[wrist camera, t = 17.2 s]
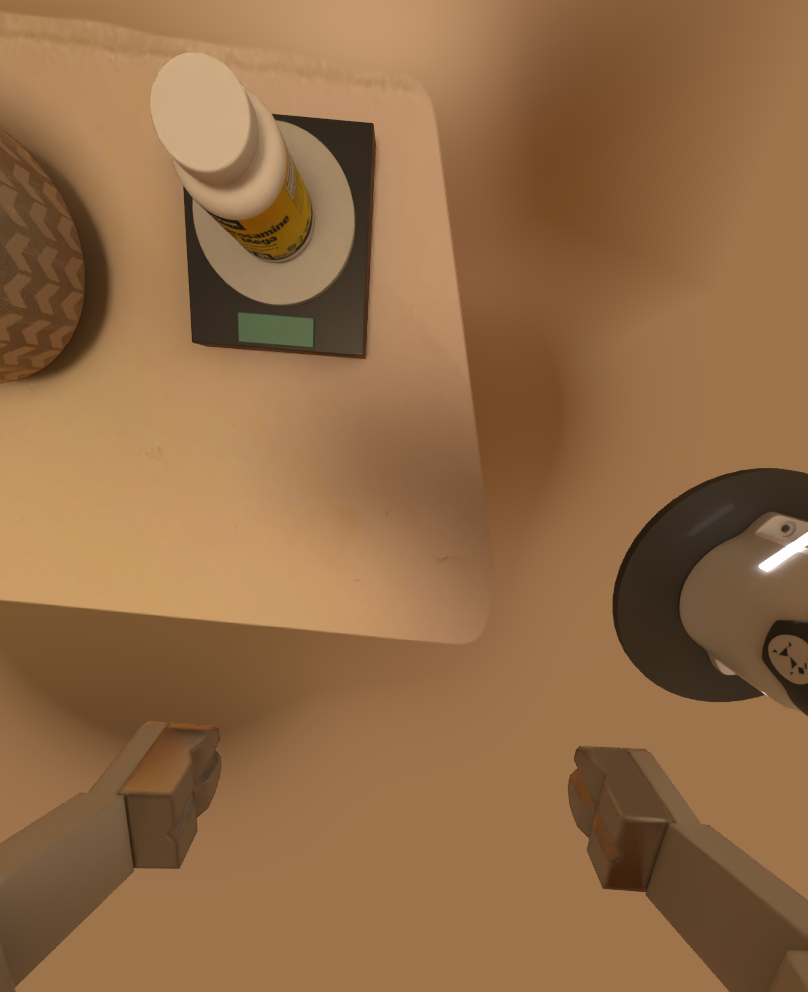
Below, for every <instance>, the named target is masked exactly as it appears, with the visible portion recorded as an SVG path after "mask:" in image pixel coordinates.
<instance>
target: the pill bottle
mask: <svg viewBox="0 0 808 992" xmlns="http://www.w3.org/2000/svg"><path fill="white" fill-rule="evenodd" d="M150 109H151V117H152V121H153V125H154V128H155V131H156V133H157V135H158V137H159V140H160V141H161V143H162V145H163V146H164V148H165V149H166V150H167V152H168V153H169V154H170V155H171V156H172V160H173V163H174V167H175V169H176V172H177V174H178V176H179V178H180V180H181V182H182V184H183V185H184V187H185V188H186V190H187V191H188V193H189V194H190V195H191V196H192V197H193V199H194V200H195V201H196V202H197V203H198V204H199V205H200V206H201V207H202V208H203V209H204V210H205V211H206V212H207V213H208V214H209V215H210V216H211V217H212V218H213V219H214V220H215V221H217V222H218V223H219V224H220V225H221V226H222V227H223V228H224V229H225V230H226V231H227V232H228V233H229V234H230V235H231V236H232V237H233V238H234V239H235V240H236V241H237V242H238V243H239V244H240V245H241V246H242V247H243V248H245V249H246V250H247V251H248V252H250V253H251V254H252V255H254V256H256V257H258V258H260V259H262V260H265V261H270V262H281V261H286V260H289V259H291V258H293V257H295V256H297V255H298V254H299V253H300V252H301V251H302V250H303V249H304V247H305V246H306V245H307V243H308V241H309V239H310V237H311V233H312V229H313V221H314V214H313V207H312V203H311V199H310V197H309V194H308V191H307V189H306V187H305V184H304V182H303V180H302V178H301V176H300V174H299V171H298V169H297V167H296V165H295V163H294V160H293V158H292V156H291V154H290V151H289V149H288V147H287V145H286V142H285V140H284V138H283V136H282V133H281V131H280V129H279V127H278V125H277V123H276V121H275V119H274V117H273V116H272V114H271V113H270V111H269V110H268V108H267V107H266V106H265V105H264V104H263V102H262V101H261V100H260V99H259V98H258V97H256V96H255V95H254V94H253V93H251V92H250V91H248V90H247V89H245V88H243V86H242V84H241V83H240V81H239V80H238V78H237V77H236V75H235V74H234V73H233V72H232V71H231V70H230V69H229V68H228V67H227V66H226V65H225V64H224V63H222V62H221V61H220V60H218V59H216V58H214V57H212V56H210V55H208V54H203V53H198V52H189V53H183V54H180V55H178V56H175V57H174V58H172V59H171V60H169V61H168V62H167V63H166V64H165V65H164V66H163V67H162V68H161V69H160V71H159V72H158V74H157V76H156V78H155V80H154V83H153V86H152V91H151V98H150Z"/></svg>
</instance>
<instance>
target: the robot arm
mask: <svg viewBox="0 0 808 992" xmlns="http://www.w3.org/2000/svg"><path fill="white" fill-rule="evenodd" d="M782 526H783V527H782ZM781 528H782V529H781ZM679 611H680V618H681V621H682V624H683V626H684V628H685V630H686V632H687V633H688V635H689V636H690V637H691V638H692V639H693V640H694V641H695V642H696V643H698V644H699V645H700V646H701V647H703V648H704V649H705V650H706V651H707V653H708V656H709V658H710V661H711V663H712V665H713V666H714V667H715V668H716V669H717V670H719V671H720V672H721V673H723V674H725V675H735V674H737V675H738V676H740V677H741V678H743V679H744V680H745V681H747V682H748V683H750V684H751V685H752V686H754V687H755V688H757V689H758V690H760V691H761V692H762V693H764V694H765V695H767V696H768V697H770V698H771V699H772V700H774V701H775V702H777V703H778V704H780V705H781V706H783V707H784V708H786V709H788V710H791V711H796V710H797V711H802V712H803V713H805V714H806V715H807V716H808V521H805V520H801V519H797V518H794V517H790V516H787V515H783V514H780V513H776V512H768V513H765V514H763V515H762V516H760V517H759V518H758V519H757V520H755V521H754V522H753V523H752V524H751V525H750V526H749V527H748V528H747V529H746V530H745V531H744V532H743V533H741V534H739V535H738V536H736V537H734V538H732V539H729V540H727V541H725V542H723V543H722V544H720V545H718V546H717V547H715V548H714V549H712V550H711V551H710V552H708V553H707V554H706V555H705V556H704V557H703V558H702V559H701V560H700V561H699V562H698V563H697V564H696V565H695V567H694V568H693V569H692V571H691V572H690V574H689V575H688V577H687V579H686V581H685V583H684V586H683V588H682V592H681V596H680V603H679ZM219 741H220V736H219V728H218V727H215V726H205V725H193V724H181V723H163V722H152V721H148V722H147V723H145V724H144V725H142V726H141V727H140V728H139V729H138V731H137V732H136V733H135V734H134V736H133V737H132V738H131V739H130V741H129V742H128V743H127V745H126V746H125V747H124V748H123V749H122V751H121V752H120V753H119V754H118V756H117V757H116V758H115V760H114V761H113V762H112V763H111V764H110V766H109V767H108V768H107V770H106V771H105V772H104V773H103V774H102V776H101V777H100V778H99V779H98V781H97V782H96V783H95V784H94V786H93V787H92V788H91V789H90V791H89V792H88V793H79V794H77V795H76V796H74V797H73V798H71V799H69V800H68V801H66V802H65V803H63V804H62V805H60V806H58V807H57V808H55V809H54V810H52V811H51V812H49V813H47V814H46V815H44V816H43V817H41V818H39V819H38V820H36V821H35V822H33V823H32V824H30V825H28V826H27V827H26V828H24V829H22V830H21V831H19V832H17V833H16V834H14V835H13V836H11V837H9V838H8V839H6V840H5V841H3V842H2V843H0V992H16V991H15V987H16V986H17V985H18V984H19V983H20V982H21V981H22V980H23V979H24V978H25V977H26V976H27V975H28V974H29V973H30V972H31V971H32V970H33V969H34V968H35V967H36V966H37V965H38V964H39V963H40V962H41V961H43V960H44V959H45V958H46V956H48V954H50V953H51V952H52V951H53V950H54V949H55V948H56V947H57V946H58V945H59V944H60V943H61V942H62V941H63V940H64V939H65V938H66V937H67V936H68V935H69V934H70V933H71V932H72V931H73V930H74V929H75V928H76V927H77V926H78V925H79V924H80V923H81V922H82V921H83V920H84V919H86V918H87V917H88V916H89V915H90V914H91V913H92V912H93V911H94V910H95V909H96V908H97V907H98V906H99V905H100V904H101V903H102V902H103V901H104V900H105V899H106V898H107V897H108V896H109V895H110V894H111V893H112V892H113V891H114V890H115V889H116V888H117V887H118V886H119V885H120V884H121V883H122V882H123V881H124V880H126V879H127V877H129V876H130V874H132V873H133V871H134V868H168V869H169V868H170V869H171V868H173V869H179V868H180V866H181V864H182V862H183V860H184V858H185V856H186V854H187V852H188V850H189V847H190V845H191V843H192V841H193V839H194V837H195V835H196V833H197V817H198V816H199V815H200V814H202V813H203V812H204V811H205V810H206V809H207V808H208V807H209V805H210V803H211V801H212V799H213V796H214V794H215V791H216V788H217V785H218V781H219V778H220V771H221V756H220V755H219V754H218V752H217V751H216V750H215V749H216V747H217V745H218V743H219ZM574 761H575V763H576V766H577V767H578V768H577V769H576V770H575V771H574V772H573V773H572V774H571V775H570V778H569V784H568V795H569V803H570V807H571V811H572V814H573V817H574V820H575V822H576V825H577V827H578V828H579V829H580V830H581V831H582V832H583V833H584V834H585V835H586V836H587V837H588V838H589V843H588V847H587V852H588V854H589V856H590V859H591V861H592V864H593V866H594V868H595V871H596V873H597V875H598V878H599V880H600V883H601V885H602V888H603V889H613V890H627V891H638V892H646V896H647V897H648V898H649V899H650V901H651V902H652V903H653V904H654V905H655V906H656V908H657V909H658V910H659V911H660V912H661V913H662V914H663V915H664V917H665V918H666V919H667V920H668V921H669V922H670V924H671V925H672V926H673V927H674V928H675V929H676V930H677V932H678V933H679V934H680V935H681V936H682V937H683V939H684V940H685V941H686V942H687V943H688V944H689V945H690V947H691V948H692V949H693V950H694V951H695V952H696V953H697V955H698V956H699V957H700V958H701V959H702V960H703V962H704V963H705V964H706V965H707V966H708V967H709V968H710V970H711V971H712V972H713V973H714V974H715V975H716V976H717V977H718V979H719V980H720V981H721V982H722V983H723V985H724V986H725V987H726V988H727V989H728V990H729V991H730V992H808V900H807V899H805V898H804V897H803V896H802V895H800V894H799V893H797V892H796V891H795V890H794V889H792V888H791V887H790V886H788V885H787V884H786V883H784V882H783V881H782V880H780V879H779V878H778V877H777V876H775V875H774V874H773V873H771V872H770V871H768V870H767V869H766V868H765V867H763V866H762V865H761V864H760V863H758V862H757V861H755V860H754V859H753V858H752V857H750V856H749V855H748V854H746V853H745V852H744V851H742V850H741V849H740V848H739V847H737V846H736V845H735V844H733V843H732V842H731V841H729V840H728V839H727V838H725V837H724V836H723V835H721V834H720V833H719V832H717V831H716V830H715V829H714V828H712V827H711V826H709V825H702V824H701V823H700V821H699V820H698V818H697V817H696V816H695V814H694V813H693V811H692V810H691V809H690V807H689V806H688V804H687V803H686V802H685V800H684V799H683V797H682V796H681V795H680V793H679V792H678V790H677V789H676V787H675V786H674V785H673V783H672V782H671V780H670V779H669V777H668V776H667V775H666V773H665V772H664V770H663V769H662V768H661V766H660V765H659V764H658V762H657V761H656V759H655V758H654V756H653V755H652V754H651V753H650V752H648V751H647V750H646V749H630V748H623V749H622V748H611V747H589V746H588V747H587V746H579V748H577V750H576V752H575V756H574Z"/></svg>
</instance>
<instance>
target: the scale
mask: <svg viewBox="0 0 808 992" xmlns="http://www.w3.org/2000/svg"><path fill="white" fill-rule="evenodd" d="M272 116H273V117H274V119H275V121H276V123H277V125H278V127H279V129H280V131H281V133H282V136H283V138H284V140H285V142H286V145H287V147H288V149H289V151H290V154H291V156H292V158H293V160H294V163H295V165H296V167H297V169H298V171H299V174H300V176H301V178H302V180H303V182H304V184H305V187H306V189H307V191H308V194H309V197H310V199H311V203H312V207H313V214H314V221H313V229H312V233H311V237H310V239H309V241H308V243H307V245H306V246H305V247H304V249H303V250H302V251H301V252H300V253H299V254H298V255H297V256H295V257H293V258H291V259H289V260H286V261H281V262H270V261H265V260H262V259H260V258H258V257H256V256H254V255H252V254H251V253H250V252H248V251H247V250H246V249H245V248H243V247H242V246H241V245H240V244H239V243H238V242H237V241H236V240H235V239H234V238H233V237H232V236H231V235H230V234H229V233H228V232H227V231H226V230H225V229H224V228H223V227H222V226H221V225H220V224H219V223H218V222H217V221H215V220H214V219H213V218H212V217H211V216H210V215H209V214H208V213H207V212H206V211H205V210H204V209H203V208H202V207H201V206H200V205H199V204H198V203H197V202H196V201H195V200H194V199H193V197H192V196H191V195H190V194H189V193H188V191H187V190H186V188H185V187H184V185H183V188H184V206H185V223H186V241H187V258H188V276H189V293H190V311H191V329H192V342H193V343H196V344H200V345H204V346H210V347H223V348H236V349H248V350H261V351H274V352H286V353H299V354H312V355H324V356H337V357H350V358H362V359H365V358H366V339H367V317H368V296H369V275H370V254H371V233H372V212H373V190H374V169H375V148H376V143H375V133H374V125H373V123H364V122H354V121H343V120H332V119H321V118H310V117H300V116H289V115H278V114H272Z"/></svg>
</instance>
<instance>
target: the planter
mask: <svg viewBox="0 0 808 992" xmlns="http://www.w3.org/2000/svg"><path fill="white" fill-rule="evenodd" d="M84 294H85V268H84V259H83V253H82V248H81V244H80V240H79V236H78V233H77V230H76V227H75V224H74V222H73V219H72V217H71V215H70V212H69V210H68V208H67V206H66V204H65V202H64V200H63V198H62V196H61V195H60V193H59V191H58V190H57V188H56V186H55V185H54V183H53V182H52V180H51V179H50V178H49V176H48V175H47V174H46V172H45V171H44V170H43V168H42V167H41V166H40V165H39V164H38V162H37V161H36V160H35V159H34V158H33V157H32V156H31V155H30V154H29V153H28V152H27V151H26V150H25V149H24V148H23V147H22V146H21V145H20V144H19V143H18V142H17V141H16V140H14V139H13V138H12V137H11V136H10V135H8V134H7V133H6V132H4V131H3V130H2V129H0V383H4V382H9V381H14V380H18V379H21V378H24V377H27V376H29V375H31V374H34V373H36V372H37V371H39V370H41V369H42V368H44V367H46V366H47V365H48V364H49V363H51V362H52V361H53V360H54V359H55V358H56V357H57V356H58V355H59V354H60V353H61V352H62V350H63V349H64V348H65V347H66V345H67V344H68V342H69V341H70V339H71V337H72V336H73V334H74V331H75V329H76V327H77V325H78V322H79V319H80V315H81V312H82V307H83V302H84Z"/></svg>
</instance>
